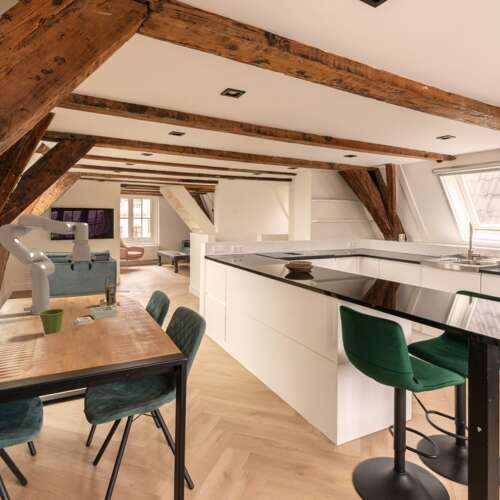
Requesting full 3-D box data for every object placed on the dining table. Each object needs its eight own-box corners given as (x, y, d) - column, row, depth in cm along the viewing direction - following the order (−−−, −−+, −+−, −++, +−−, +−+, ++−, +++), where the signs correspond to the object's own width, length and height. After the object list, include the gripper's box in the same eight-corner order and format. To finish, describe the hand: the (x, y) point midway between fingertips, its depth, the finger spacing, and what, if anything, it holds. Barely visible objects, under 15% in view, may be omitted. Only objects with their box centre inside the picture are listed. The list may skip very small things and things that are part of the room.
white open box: (95, 321, 208) (94, 312, 208) (90, 316, 218) (90, 308, 217) (116, 317, 215) (116, 309, 215) (111, 313, 225) (110, 305, 224)
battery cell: (100, 316, 214) (100, 300, 213) (99, 315, 217) (99, 298, 216) (107, 315, 216) (107, 299, 215) (105, 314, 219) (105, 298, 218)
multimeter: (116, 307, 240) (115, 277, 238) (103, 306, 242) (102, 277, 240) (128, 302, 254) (127, 274, 252) (115, 302, 256) (114, 274, 254)
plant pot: (41, 330, 189) (40, 309, 188) (66, 328, 193) (66, 308, 193) (37, 337, 178) (36, 315, 177) (64, 335, 182) (63, 313, 182)
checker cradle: (77, 326, 197) (77, 322, 197) (74, 322, 204) (74, 318, 204) (94, 323, 202) (94, 319, 202) (91, 320, 210) (91, 316, 210)
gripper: (66, 243, 216) (66, 271, 217) (97, 243, 226) (97, 270, 227) (65, 242, 222) (64, 269, 223) (95, 242, 232) (94, 268, 233)
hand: (81, 270), depth 225 cm, fingers open, 9 cm apart
